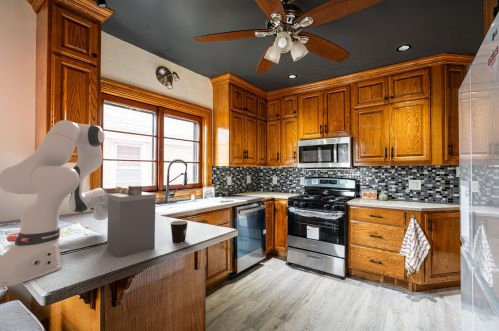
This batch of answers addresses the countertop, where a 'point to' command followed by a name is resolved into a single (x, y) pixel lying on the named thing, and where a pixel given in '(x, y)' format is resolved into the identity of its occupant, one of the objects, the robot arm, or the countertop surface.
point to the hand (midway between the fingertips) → (117, 193)
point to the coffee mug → (178, 231)
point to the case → (131, 223)
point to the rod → (130, 190)
